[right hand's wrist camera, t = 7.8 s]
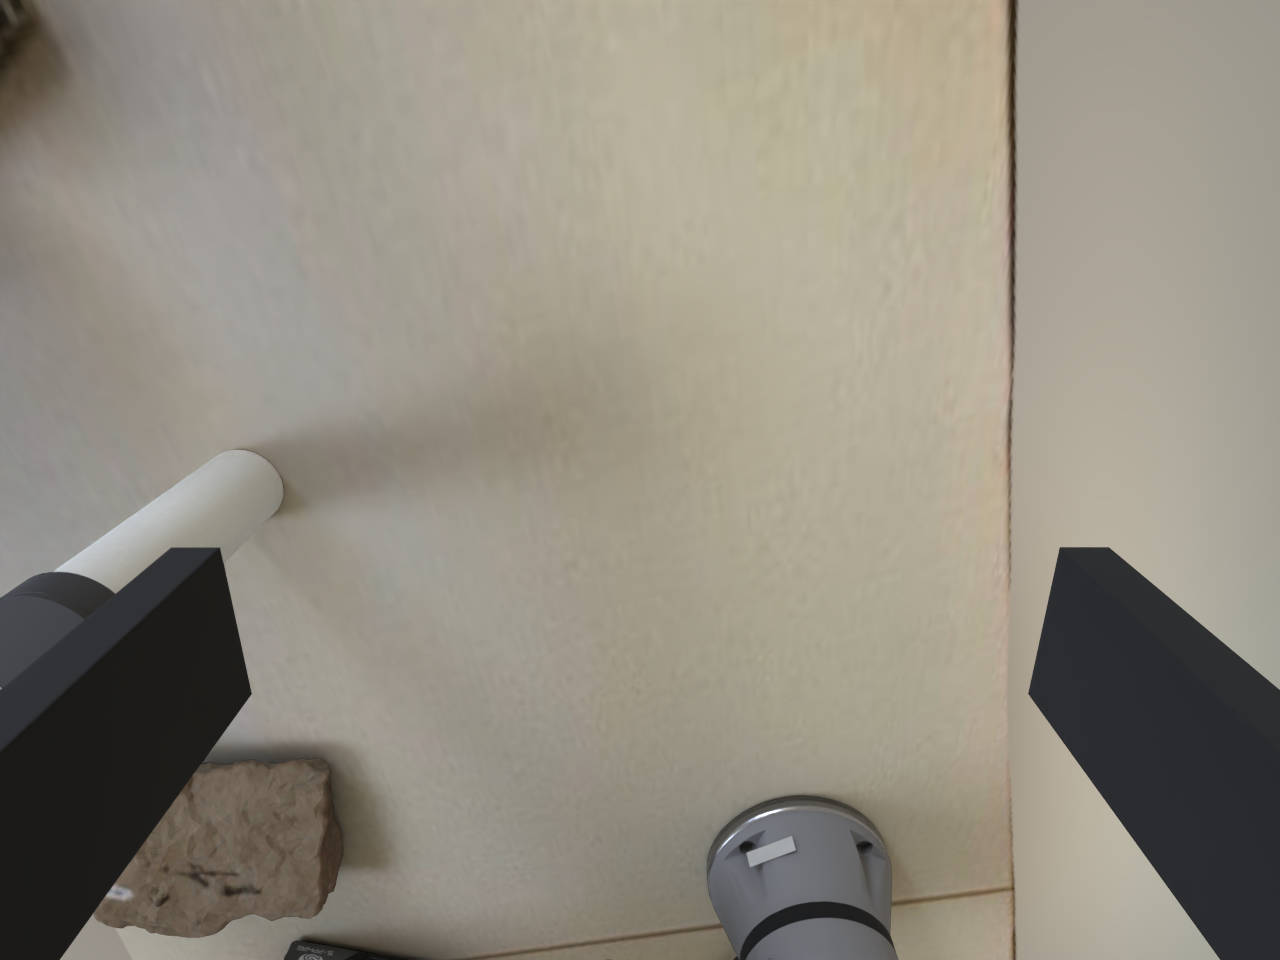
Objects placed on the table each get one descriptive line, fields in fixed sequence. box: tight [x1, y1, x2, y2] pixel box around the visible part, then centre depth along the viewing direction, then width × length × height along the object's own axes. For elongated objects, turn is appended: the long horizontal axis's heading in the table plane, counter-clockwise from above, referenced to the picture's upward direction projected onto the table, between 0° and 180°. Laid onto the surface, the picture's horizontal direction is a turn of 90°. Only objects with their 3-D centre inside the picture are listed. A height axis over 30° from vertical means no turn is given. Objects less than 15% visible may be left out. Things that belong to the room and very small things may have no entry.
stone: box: [93, 758, 343, 938], centre depth 64 cm, size 21×15×6 cm
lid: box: [0, 572, 115, 688], centre depth 38 cm, size 6×6×2 cm
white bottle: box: [53, 450, 284, 594], centre depth 47 cm, size 5×5×20 cm
